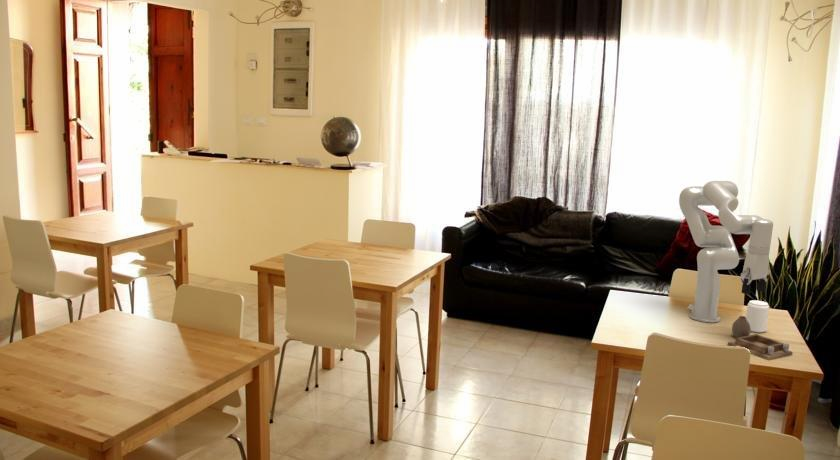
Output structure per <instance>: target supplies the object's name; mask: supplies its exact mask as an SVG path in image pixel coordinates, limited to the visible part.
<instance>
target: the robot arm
mask: <svg viewBox="0 0 840 460" xmlns="http://www.w3.org/2000/svg"><path fill="white" fill-rule="evenodd" d="M738 195H739V188H738V186H737V184H736V183H734V182H733V181H732V180H731V181H729V180H711V181H708V182H706V183H705V184H704V185H703V186H702V185H701V186H695V185H694V186H688V187H685V188H683V189H682V190H681V192H680V194H679V198H678V203H679V208H680V211H681V213H682V215H683V216H684V218H685V220H686V223H687V225H688V228H689V231H690V234H691V236H692V240H693V241H694V243H695V245H696V246H697V247H700V248H702V249H700V251H698V253H697V256H696V261H697V262H696V263H697V277H696V286H695V287H696V288H695V295H694V302H693V303H694V304H689V305H688V306H687V310H691V312H689V314H688V315H689V316H688V317H689V318H690V319H692V320H695V321H697V322H703V323H710V324H711V323H719V322H720V321H721V317H720V316H719V315H718V307H719V299H720V291H721V282H722V281H721V277H720V274H719V272H718V271H719V270H732V269H736V267H737V266H738V265H739V263H740V255H739V252H738V250H737V247H736V244H735V242H734V239H733V237H732V234H734V235H749V236H750V237H749V244H748V251H747V253H746V256H745V259H744V263H743V264H744V265H743V269H742V272H741V273H740V280H741V283H742V286H741V294H745V295H748V296H749V295H750V292H751V283H752V281H754V280H755V281H756V280H757V286H756V290H757V291H759V292H761V293H765V291H766V287H767V282H768V278H769V277H770V274H771V269H769V266H770V264H769V263H770V250H771V244H772V237H773V229H774V222H773V220H770V219H766V218H763V217H761V216H759V215H757V214H756V215H755V214H754V215H753V214H751V215H750V214H749V215H748V214H740V215H739V214H738V215H737V214H735V213H734V212H735V210H736V209H737V208H738V206H739V200H738V198H737V197H738ZM700 206H702V207H703V206H711V207H712V206H713V207H715V208H716V209H717V211H718V214H717V215H718V219H719V223H720V224H721V225H712V224H711V223H710V221H709V219H708V215H707V214H706V213H705V212H704V210H702V209H701V208H700Z"/></svg>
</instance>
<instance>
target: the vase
mask: <svg viewBox="0 0 840 460" xmlns="http://www.w3.org/2000/svg"><path fill="white" fill-rule="evenodd" d="M751 332H752V331H751V328H750V324H749V322H748V321H747V319H746V316H743V315H740V316H738V318H737V319H736V320H735V321H734V322H733V323H732V326H731V333H732V335H733V337H734V338H735V339H736V338H739V337H744V336H749V335H751Z"/></svg>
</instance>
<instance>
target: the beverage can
mask: <svg viewBox="0 0 840 460" xmlns="http://www.w3.org/2000/svg"><path fill="white" fill-rule="evenodd" d="M746 308H747V309H746V315H745V317H746V319H747V321H748V322H749V324H750V328H751V331H750V332H753V333H759V334H760V333H765V332H767V327H768V318H769V310H770V306H769V303H768V302H766V301H762V300H758V299H757V300H756V299H753V300H749V302H748V303H747V307H746Z"/></svg>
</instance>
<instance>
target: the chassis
mask: <svg viewBox="0 0 840 460" xmlns="http://www.w3.org/2000/svg"><path fill="white" fill-rule="evenodd" d="M726 345H727V346H729V345H730V346H729V347H731V346H740V347H745V348H747V349H749V350H750V352H751V353H750V354H751V355H754V356H756V357H759V358H762V359H765V360H768V361H771V360H776V359H779V358H785V357H789V356H792V355H793V353H794V352H793V351H791V350H789V348H790V344H789V343H787V342H781V341H778V340H775V339H773V338H770V337H767V336H763V335H761V334H757V333H754V334H749V336H744V337H739V338H735V340H731V341H727V344H726Z"/></svg>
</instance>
